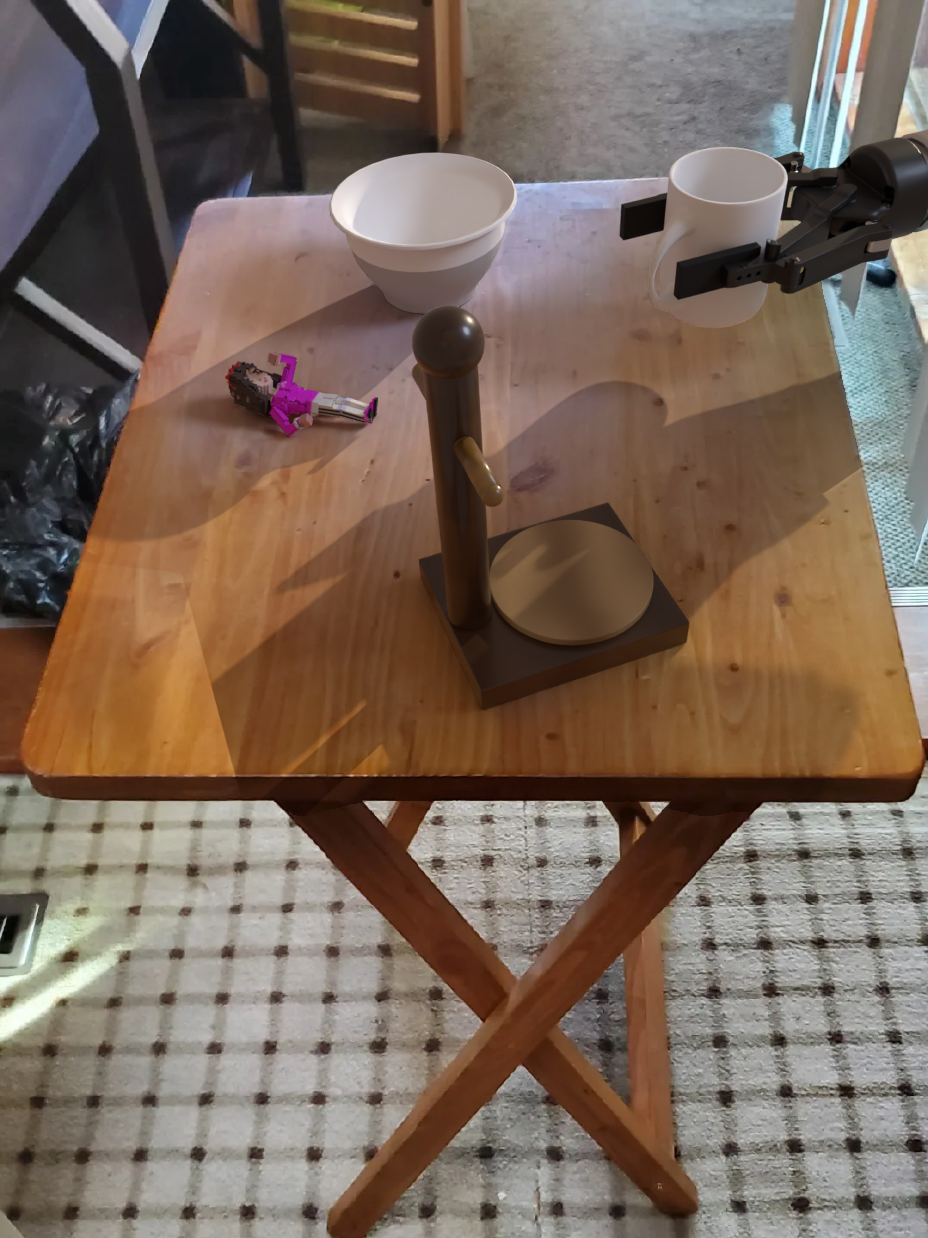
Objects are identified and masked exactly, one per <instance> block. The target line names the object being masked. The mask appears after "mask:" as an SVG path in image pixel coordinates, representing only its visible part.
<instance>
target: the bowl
mask: <svg viewBox="0 0 928 1238" xmlns="http://www.w3.org/2000/svg"><path fill="white" fill-rule="evenodd" d="M517 196H518V192H517V189H516V186H515V183H514V181H513V179H512V178H511V177H510V176H509V174H507V172H505V171H504V170H502V169H501V168H500V167H498V166H496V165H494V164H493V163H490V162H488V161H486V160H483V159H480V158H477V157H474V156H470V155H464V154H458V153H448V152H420V153H419V152H418V153H412V154H411V153H410V154H403V155H399V156H394V157H390V158H386V159H383V160H380V161H376V162H374V163H371V164H368V165H366V166H364V167H362V168H359V169H358V170H356V171H355V172H353V173H352V174H350V175H349V176H347V177H346V178H344V179H343V180H342V181H341V182H340V183H339V184H338V185H337V187H335V189H334V191H333V192H332V194H331V197H330V200H329V203H328V209H329V216H330V218H331V220H332V222H333V224H334V226H335V227H336V228H338V230H339V231H340V232H342V234H344V235H345V238H346V243H347V245H348V246H349V249H350V251H351V253H352V255H353V258H354V260H355V262H356V264H357V265H358V267H359V268H360V270H362V272H363V273H364V274H365V276H366V277H367V278H368V279H369V280H370V281H371V283H373V284H374V285H375V286H376V287H377V288H378V289H379V290H380V291H382V294H383V296H384V298H385V300H386V301H387V303H388V304H390V305H391V306H393V307H395V308H396V309H399V310H401V311H404V312H408V313H413V314H423V315H424V314H426V313H427V312H428V311H430V310H432V309H433V308H436V307H439V306H444V305H452V306H458V307H461V306H463V305H465V304H466V303H467V302H469V301H470V300H471V299H473V297H474V296H475V295H476V293H477V292H478V289H479V283H480V282H481V280H482V279H483V278H484V277H485V275H486V274H487V273H488V272H489V270H490V269H491V266H492V265H493V263H494V261H495V259H496V257H497V255H498V253H499V250H500V249H501V246H502V240H503V236H504V233H505V227H506V220H507V219H508V218H509V216H511V214H512V213H513V211H514V209H515V207H516V204H517V200H518V197H517Z"/></svg>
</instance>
